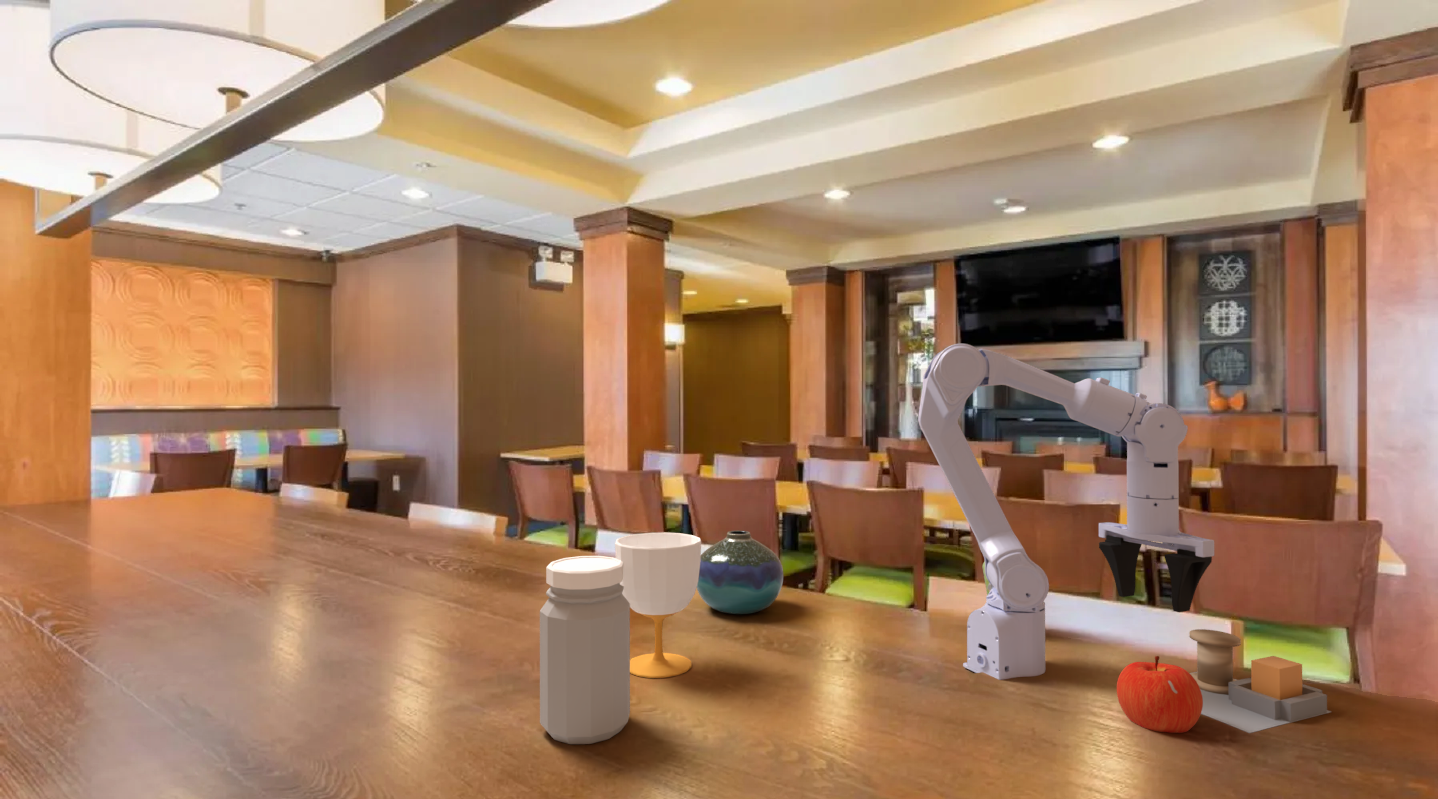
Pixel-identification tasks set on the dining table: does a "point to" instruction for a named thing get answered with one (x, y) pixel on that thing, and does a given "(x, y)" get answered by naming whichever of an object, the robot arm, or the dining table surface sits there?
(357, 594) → the dining table surface
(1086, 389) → the robot arm
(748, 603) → the vase
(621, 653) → the jar
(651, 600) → the cup
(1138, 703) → the apple
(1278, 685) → the block
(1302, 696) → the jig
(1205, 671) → the knob
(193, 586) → the dining table surface
